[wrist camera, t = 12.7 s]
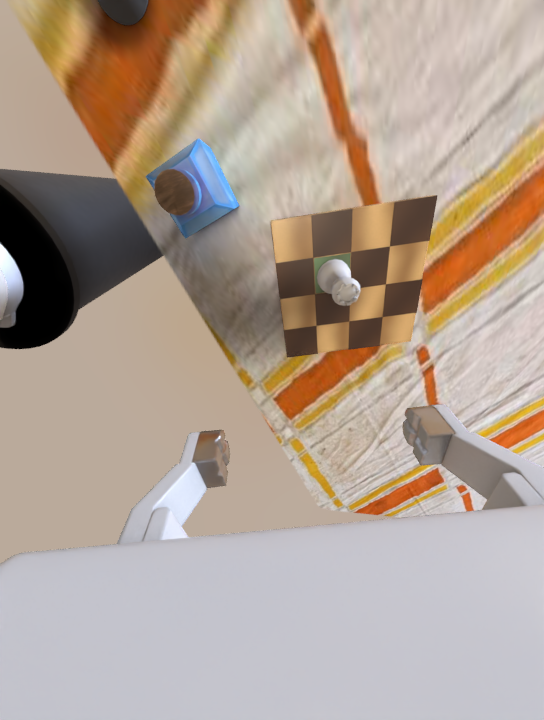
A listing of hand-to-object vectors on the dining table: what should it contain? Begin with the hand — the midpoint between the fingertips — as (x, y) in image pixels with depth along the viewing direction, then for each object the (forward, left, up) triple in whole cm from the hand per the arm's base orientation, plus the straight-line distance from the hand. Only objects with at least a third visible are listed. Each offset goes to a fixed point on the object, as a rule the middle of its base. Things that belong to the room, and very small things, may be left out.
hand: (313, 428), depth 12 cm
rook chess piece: (+7, -2, -28) cm, 29 cm away
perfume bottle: (-8, +10, -29) cm, 32 cm away
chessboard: (+9, -4, -29) cm, 31 cm away
